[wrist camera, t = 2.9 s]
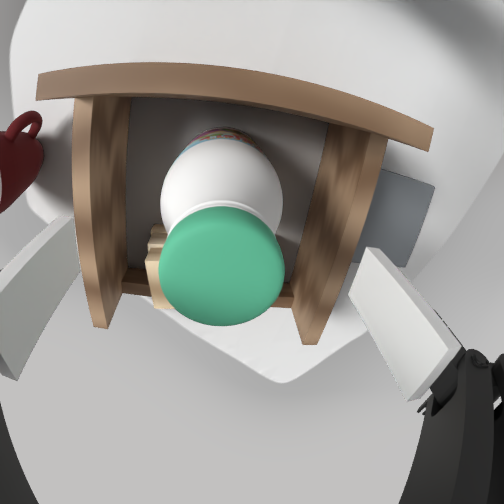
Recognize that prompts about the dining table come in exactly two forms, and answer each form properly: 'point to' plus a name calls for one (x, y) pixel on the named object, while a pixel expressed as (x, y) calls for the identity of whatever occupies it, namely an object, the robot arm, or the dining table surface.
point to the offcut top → (156, 279)
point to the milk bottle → (221, 230)
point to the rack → (234, 92)
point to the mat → (394, 217)
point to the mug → (19, 157)
